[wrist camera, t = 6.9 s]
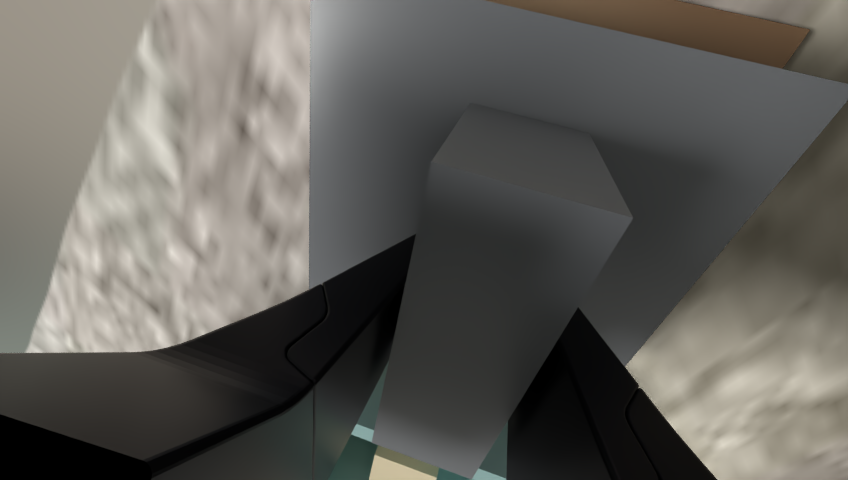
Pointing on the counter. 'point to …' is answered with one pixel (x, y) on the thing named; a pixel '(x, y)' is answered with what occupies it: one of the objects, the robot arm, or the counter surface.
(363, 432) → the storage box
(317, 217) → the lid
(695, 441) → the counter surface
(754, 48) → the walnut board
